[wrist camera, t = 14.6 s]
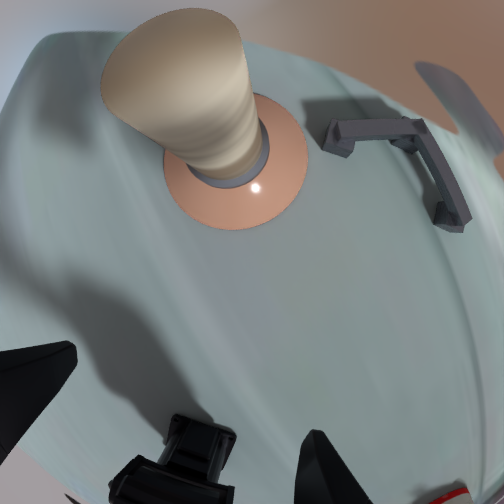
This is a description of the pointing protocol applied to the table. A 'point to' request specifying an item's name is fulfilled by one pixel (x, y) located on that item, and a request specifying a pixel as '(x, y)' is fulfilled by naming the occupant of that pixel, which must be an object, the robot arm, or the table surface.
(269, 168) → the terracotta coaster
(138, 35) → the birch ring post
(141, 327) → the table surface
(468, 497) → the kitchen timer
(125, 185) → the table surface
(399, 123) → the grey angled bracket
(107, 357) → the table surface
